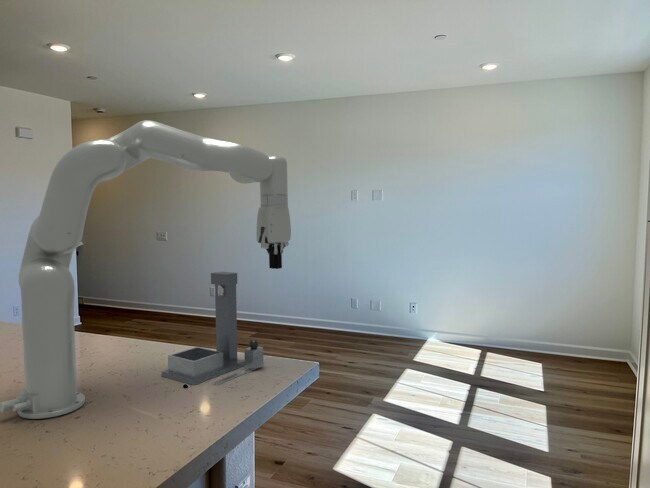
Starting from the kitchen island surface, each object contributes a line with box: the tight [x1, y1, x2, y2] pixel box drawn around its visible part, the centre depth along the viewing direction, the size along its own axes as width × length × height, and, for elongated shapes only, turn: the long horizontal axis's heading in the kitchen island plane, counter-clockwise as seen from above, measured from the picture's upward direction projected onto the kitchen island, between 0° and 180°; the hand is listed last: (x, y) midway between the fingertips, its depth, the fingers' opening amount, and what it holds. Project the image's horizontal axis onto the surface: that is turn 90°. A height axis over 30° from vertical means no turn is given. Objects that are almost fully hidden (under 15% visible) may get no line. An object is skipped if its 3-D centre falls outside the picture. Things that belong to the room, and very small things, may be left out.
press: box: [161, 271, 261, 386], centre depth 123 cm, size 19×17×25 cm
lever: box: [244, 339, 264, 371], centre depth 126 cm, size 4×3×7 cm
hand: (275, 268), depth 132 cm, fingers closed
